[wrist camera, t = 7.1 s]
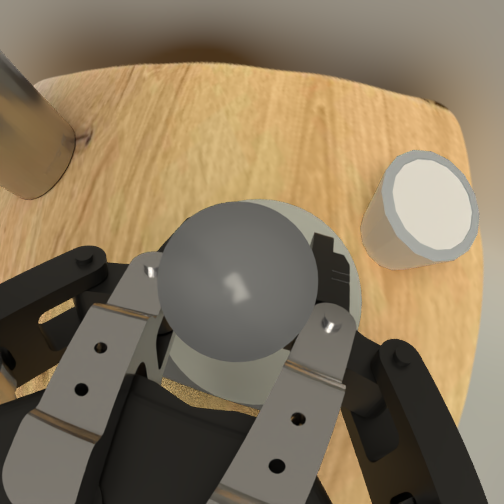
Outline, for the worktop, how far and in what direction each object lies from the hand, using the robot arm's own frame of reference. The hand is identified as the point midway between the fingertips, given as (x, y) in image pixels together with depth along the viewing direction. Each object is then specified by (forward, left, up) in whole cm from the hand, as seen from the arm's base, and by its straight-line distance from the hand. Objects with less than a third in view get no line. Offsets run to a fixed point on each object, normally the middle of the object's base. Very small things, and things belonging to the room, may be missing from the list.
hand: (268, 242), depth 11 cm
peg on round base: (0, -2, -4) cm, 5 cm away
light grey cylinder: (+8, +6, -11) cm, 15 cm away
